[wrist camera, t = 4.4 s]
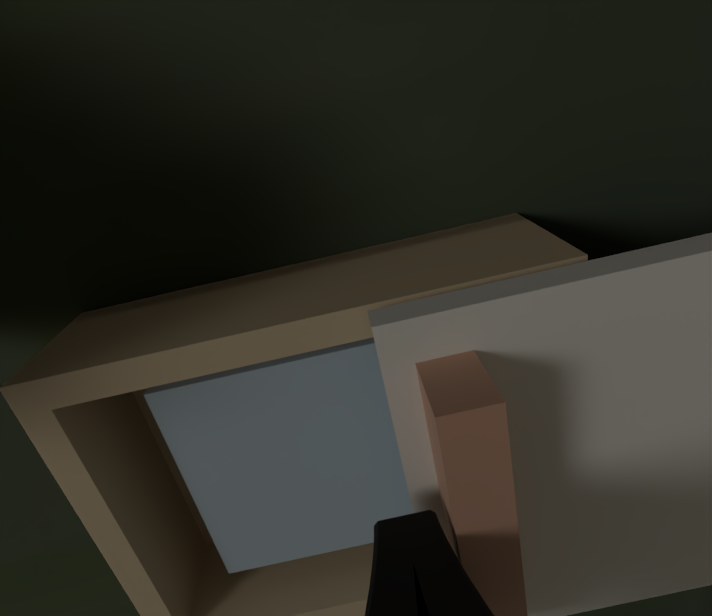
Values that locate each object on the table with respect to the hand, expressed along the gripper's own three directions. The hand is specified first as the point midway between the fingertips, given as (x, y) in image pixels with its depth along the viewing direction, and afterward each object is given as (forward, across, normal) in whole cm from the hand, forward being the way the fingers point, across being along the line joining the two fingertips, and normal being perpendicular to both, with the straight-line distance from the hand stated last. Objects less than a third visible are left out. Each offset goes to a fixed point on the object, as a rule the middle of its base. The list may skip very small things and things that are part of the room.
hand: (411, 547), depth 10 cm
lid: (+2, -7, 0) cm, 7 cm away
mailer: (+6, +2, 0) cm, 6 cm away
